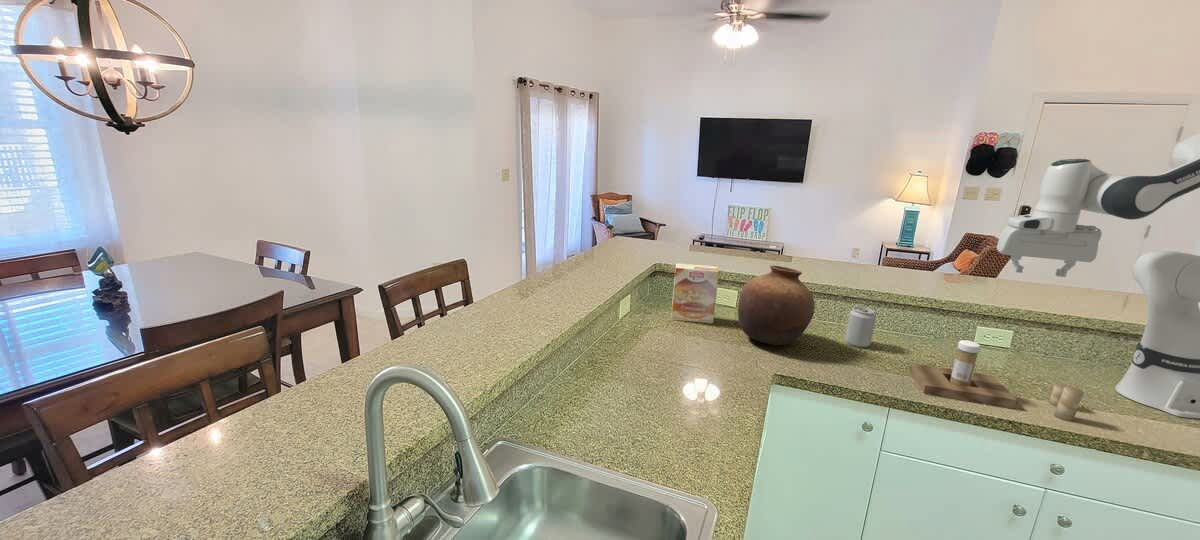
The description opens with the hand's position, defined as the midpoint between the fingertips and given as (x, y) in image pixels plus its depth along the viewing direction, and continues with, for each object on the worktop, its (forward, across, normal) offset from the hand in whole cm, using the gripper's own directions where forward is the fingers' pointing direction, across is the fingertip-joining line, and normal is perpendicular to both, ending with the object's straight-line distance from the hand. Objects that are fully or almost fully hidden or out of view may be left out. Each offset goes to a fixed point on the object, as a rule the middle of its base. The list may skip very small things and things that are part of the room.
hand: (1038, 274), depth 129 cm
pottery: (+31, +64, -2) cm, 71 cm away
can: (+31, +37, -11) cm, 50 cm away
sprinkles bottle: (+31, +16, +12) cm, 37 cm away
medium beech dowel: (+31, -4, +19) cm, 37 cm away
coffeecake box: (+31, +91, -12) cm, 97 cm away
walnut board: (+31, +16, +12) cm, 37 cm away
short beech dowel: (+31, -6, +12) cm, 34 cm away
